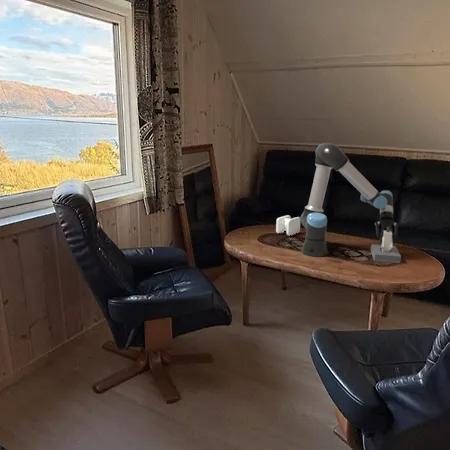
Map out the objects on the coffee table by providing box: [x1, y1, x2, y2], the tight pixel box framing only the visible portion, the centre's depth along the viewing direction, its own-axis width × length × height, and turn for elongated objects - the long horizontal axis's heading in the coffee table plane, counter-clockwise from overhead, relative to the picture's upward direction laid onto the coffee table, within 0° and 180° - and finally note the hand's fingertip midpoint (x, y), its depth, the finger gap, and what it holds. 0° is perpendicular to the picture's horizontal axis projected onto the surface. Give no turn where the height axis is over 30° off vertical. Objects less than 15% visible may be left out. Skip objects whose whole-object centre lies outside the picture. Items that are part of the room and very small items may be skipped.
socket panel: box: [370, 243, 402, 264], centre depth 247 cm, size 14×20×4 cm
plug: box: [382, 227, 392, 252], centre depth 245 cm, size 4×5×15 cm
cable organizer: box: [275, 214, 301, 237], centre depth 291 cm, size 15×11×12 cm
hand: (387, 248), depth 243 cm, fingers closed on plug, 4 cm apart
